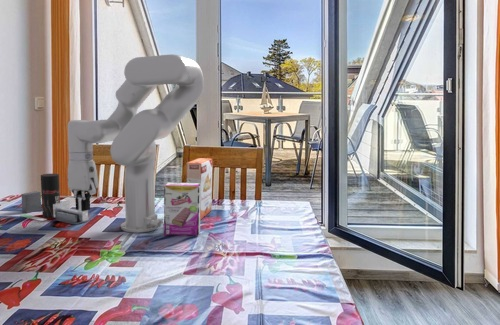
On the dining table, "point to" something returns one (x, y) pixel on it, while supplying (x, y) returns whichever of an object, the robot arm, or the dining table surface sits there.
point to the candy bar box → (182, 208)
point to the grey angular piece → (66, 209)
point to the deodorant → (49, 193)
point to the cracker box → (202, 181)
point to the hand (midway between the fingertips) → (83, 209)
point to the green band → (27, 216)
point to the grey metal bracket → (68, 218)
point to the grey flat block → (31, 202)
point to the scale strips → (39, 218)
